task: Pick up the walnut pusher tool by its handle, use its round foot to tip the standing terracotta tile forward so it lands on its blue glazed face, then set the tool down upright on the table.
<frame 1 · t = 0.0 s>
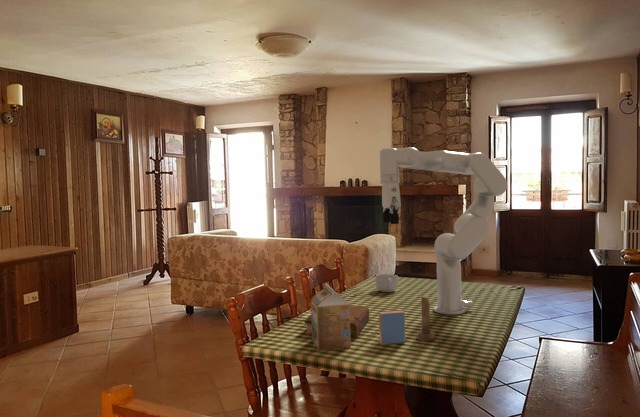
hand: (390, 223, 185), 37 cm above the table, tool pointing down, fingers open, 9 cm apart
teacup: (387, 292, 229), on the table
pusher tool: (426, 338, 156), on the table
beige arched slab: (338, 328, 172), on the table
tile: (392, 342, 153), on the table
milk carton: (330, 344, 153), on the table
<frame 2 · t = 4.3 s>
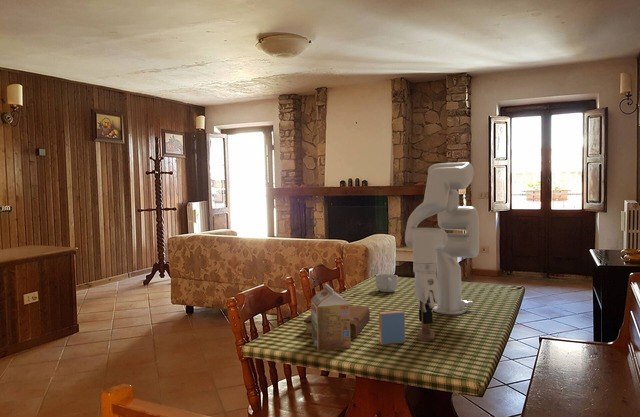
hand: (425, 321, 156), 6 cm above the table, tool pointing down, fingers closed on pusher tool, 2 cm apart
pusher tool: (426, 338, 156), on the table, touching gripper
everything else where it was.
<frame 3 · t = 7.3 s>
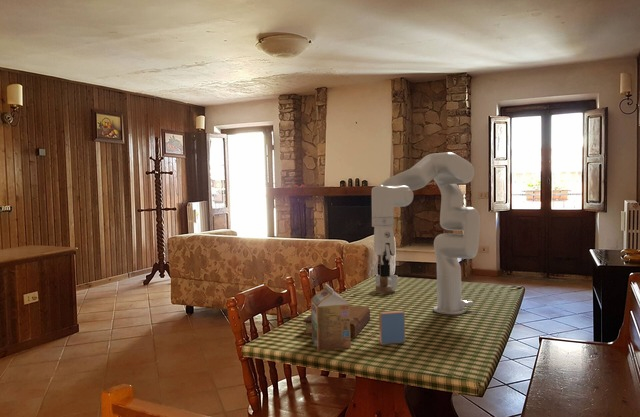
hand: (383, 275, 160), 21 cm above the table, tool pointing down, fingers closed on pusher tool, 2 cm apart
pusher tool: (383, 291, 160), point 15 cm above the table, touching gripper
everything else where it was.
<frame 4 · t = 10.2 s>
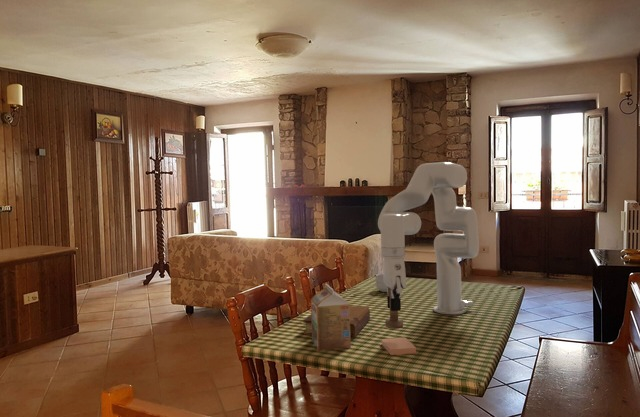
hand: (394, 308, 150), 12 cm above the table, tool pointing down, fingers closed on pusher tool, 2 cm apart
pusher tool: (394, 326, 151), point 6 cm above the table, touching gripper
tile: (393, 341, 152), point 1 cm above the table, tilted 90°
everything else where it was.
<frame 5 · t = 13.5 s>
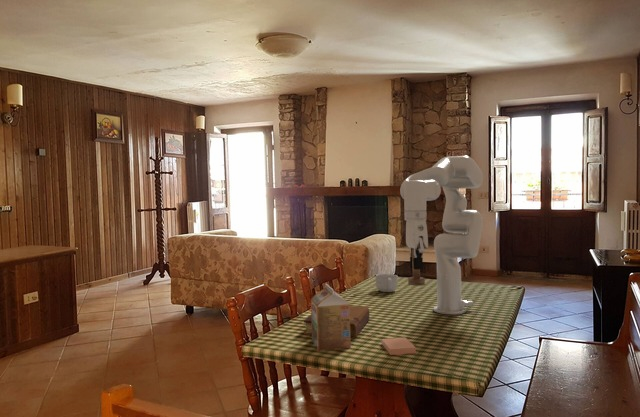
hand: (416, 267, 163), 22 cm above the table, tool pointing down, fingers closed on pusher tool, 2 cm apart
pusher tool: (416, 284, 163), point 17 cm above the table, touching gripper
everything else where it was.
when the fingers open (7 cm above the table, at t = 16.4 s): pusher tool drops 2 cm, on the table.
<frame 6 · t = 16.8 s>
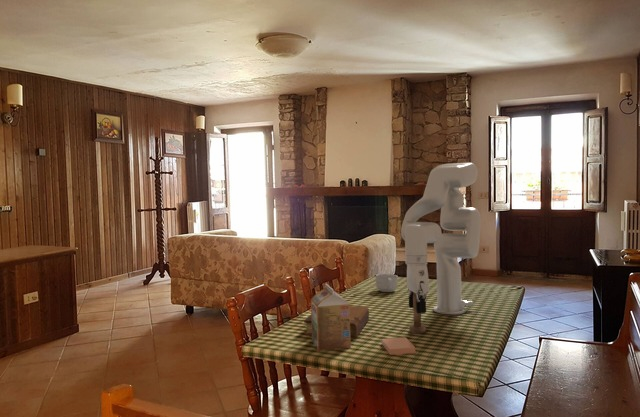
hand: (417, 309, 164), 8 cm above the table, tool pointing down, fingers open, 7 cm apart
pusher tool: (417, 331, 164), on the table
everything else where it was.
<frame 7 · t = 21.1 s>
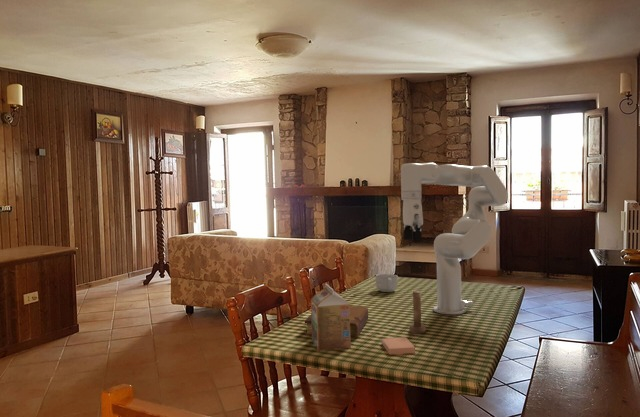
hand: (412, 240, 178), 30 cm above the table, tool pointing down, fingers open, 9 cm apart
nothing on the table moved.
at the end: tile tilted 90°; tile inside the target area (4.4 cm from its centre), point 0.6 cm above the table; pusher tool inside the target area (0.0 cm from its centre), on the table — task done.
